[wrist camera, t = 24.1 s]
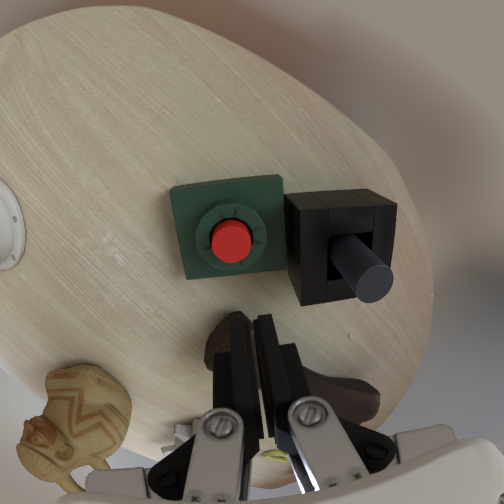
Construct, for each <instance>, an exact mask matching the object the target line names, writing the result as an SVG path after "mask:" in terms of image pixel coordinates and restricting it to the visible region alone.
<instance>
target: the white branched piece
mask: <svg viewBox="0 0 504 504" xmlns="http://www.w3.org/2000/svg"><path fill="white" fill-rule="evenodd" d="M199 421H200V420H199V419H194V420H193V423H192V425H180V424H176V425H174V435H175V436H176V437H177V438H176V441H175V444H174V445H171V446H166V447H162V448H161V450H162V453H163V455H166V456H168V455H169V454H170V453H172V452H173V451H174V450H176V449H177V448H178V447H179V446H181V445H182V444H183V443H185V442H186V441H187V440H188V439H190V438H191V437H192V436H193V435H195V434H196V432H197V427H198V423H199Z"/></svg>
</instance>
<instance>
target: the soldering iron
mask: <svg viewBox="0 0 504 504" xmlns="http://www.w3.org/2000/svg"><path fill="white" fill-rule="evenodd" d="M328 257H329V259H330V260H331V261H332V263H333V264H334V265H335V267H336V268H337V269H338V271H339V272H340V274H341V275H342V276H343V278H344V279H345V280H346V282H347V283H348V285H349V286H350V287H351V289H352V290H353V292H354V293H355V295H356V296H357V297H358V299H359V300H360V301H362V302H365V303H373V302H376V301H378V300H380V299H382V298H383V297H384V296H385V295H386V294H387V293H388V292H389V290H390V289H391V287H392V284H393V273H392V270H391V269H390V268H389V267H388V266H387V265H386V264H385V263H384V262H383V261H382V260H381V259H380V258H379V257H378V256H377V255H376V254H374V253H373V252H372V251H371V250H370V249H369V248H368V247H367V246H366V245H365V244H364V243H363V242H362V241H360V240H359V239H358V238H357V237H356V236H355V235H354V234H344V235H335V236H328Z"/></svg>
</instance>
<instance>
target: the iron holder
mask: <svg viewBox="0 0 504 504" xmlns="http://www.w3.org/2000/svg"><path fill="white" fill-rule="evenodd" d="M285 205H286V225H287V248H288V275H289V278H290V280H291V283H292V285H293V288H294V290H295V293H296V295H297V298H298V300H299V303H300V305H301V306H307V305H314V304H320V303H325V302H332V301H338V300H344V299H350V298H356V297H357V296H356V295H355V293H354V292H353V290H352V289H351V287H350V286H349V285H348V283H347V282H346V280H345V279H344V278H343V276H342V275H341V274H340V272H339V271H338V269H337V268H336V267H335V265H334V264H333V263H332V261H331V260H330V259H329V257H328V236H335V235H344V234H354V235H355V236H356V237H357V238H358V239H359V240H360V241H362V242H363V243H364V244H365V245H366V246H367V247H368V248H369V249H370V250H371V251H372V252H373V253H374V254H376V255H377V256H378V257H379V258H380V259H381V260H382V261H383V262H384V263H385V264H386V265H387V266H388V267H389V268H390V267H391V260H392V252H393V244H394V236H395V226H396V214H397V203H395V202H393V201H391V200H389V199H387V198H385V197H383V196H381V195H379V194H377V193H375V192H373V191H371V190H369V189H352V190H333V191H317V192H304V193H291V194H285Z"/></svg>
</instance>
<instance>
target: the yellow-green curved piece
mask: <svg viewBox="0 0 504 504" xmlns="http://www.w3.org/2000/svg"><path fill="white" fill-rule="evenodd" d="M270 456H282V458H274V457H270ZM264 458H265V459H268V460H272V461H278V462H285V461H289V459H288V456H287V453H285V452H283V451H267V452H265V453H264Z"/></svg>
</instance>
